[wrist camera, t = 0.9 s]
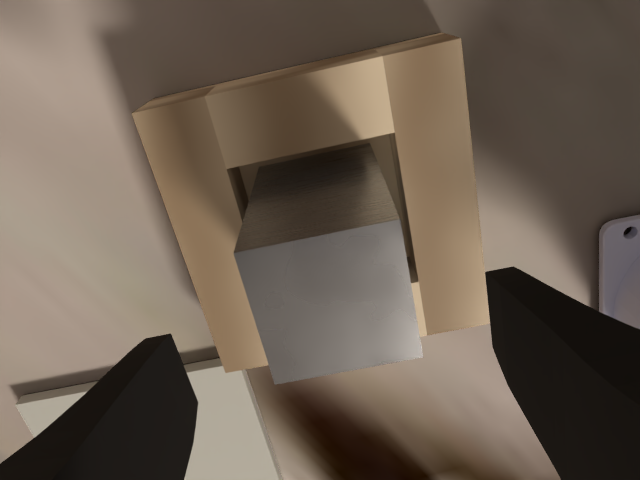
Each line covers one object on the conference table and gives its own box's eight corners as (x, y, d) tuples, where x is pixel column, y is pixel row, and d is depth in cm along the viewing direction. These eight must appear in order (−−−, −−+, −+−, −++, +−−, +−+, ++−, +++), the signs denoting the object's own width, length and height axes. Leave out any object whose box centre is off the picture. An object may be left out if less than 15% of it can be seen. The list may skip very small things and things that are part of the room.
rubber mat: (240, 354, 23) (238, 362, 23) (294, 512, 27) (294, 523, 27) (21, 395, 24) (15, 404, 23) (106, 544, 28) (102, 554, 27)
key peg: (370, 142, 19) (400, 219, 12) (388, 243, 20) (423, 357, 14) (259, 166, 19) (233, 253, 13) (285, 264, 21) (274, 384, 14)
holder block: (441, 32, 18) (460, 38, 16) (471, 289, 22) (490, 323, 20) (153, 98, 19) (131, 113, 16) (233, 335, 23) (225, 373, 20)
